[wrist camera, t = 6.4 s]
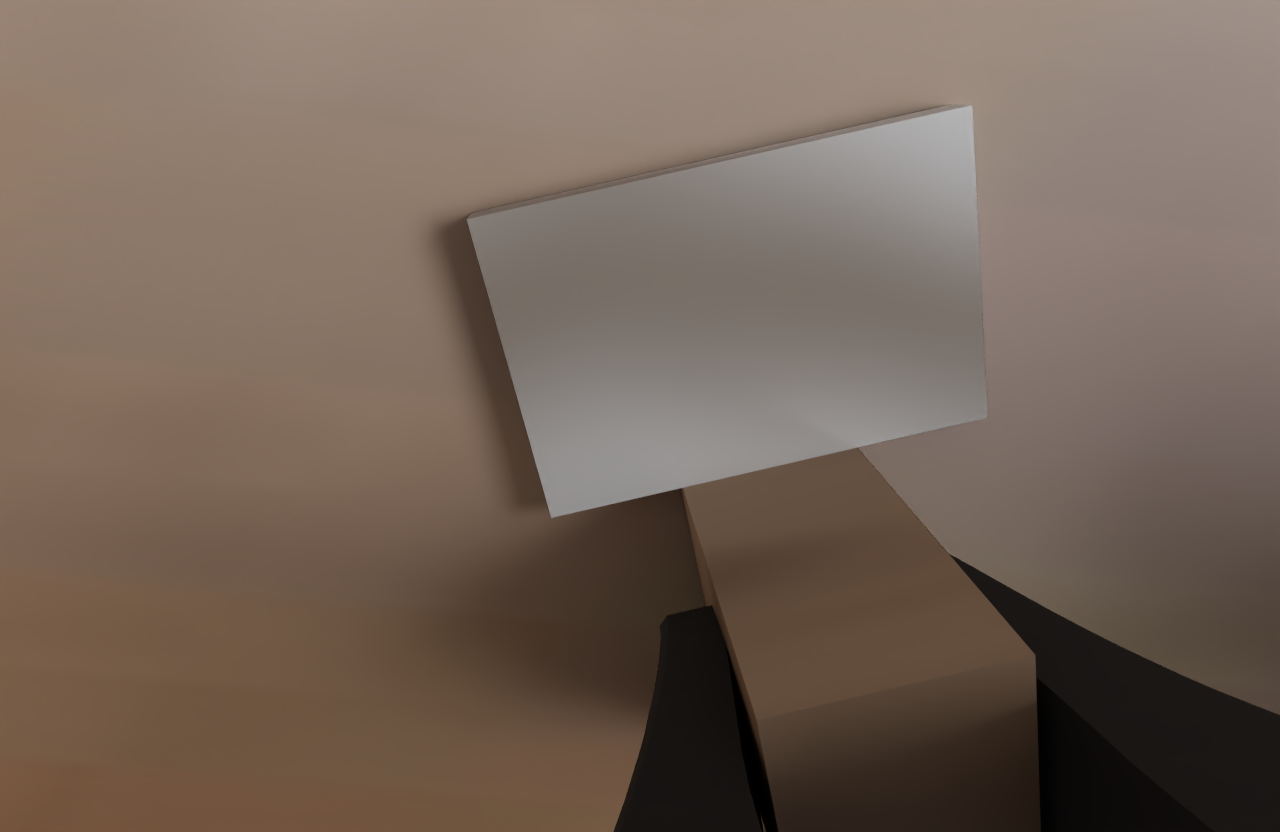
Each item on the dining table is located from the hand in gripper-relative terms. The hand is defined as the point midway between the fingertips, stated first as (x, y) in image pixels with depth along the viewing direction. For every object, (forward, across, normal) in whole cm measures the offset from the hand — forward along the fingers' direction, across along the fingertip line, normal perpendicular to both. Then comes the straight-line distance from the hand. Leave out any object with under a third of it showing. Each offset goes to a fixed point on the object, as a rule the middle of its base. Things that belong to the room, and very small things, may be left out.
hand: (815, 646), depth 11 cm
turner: (+2, 0, -2) cm, 2 cm away
